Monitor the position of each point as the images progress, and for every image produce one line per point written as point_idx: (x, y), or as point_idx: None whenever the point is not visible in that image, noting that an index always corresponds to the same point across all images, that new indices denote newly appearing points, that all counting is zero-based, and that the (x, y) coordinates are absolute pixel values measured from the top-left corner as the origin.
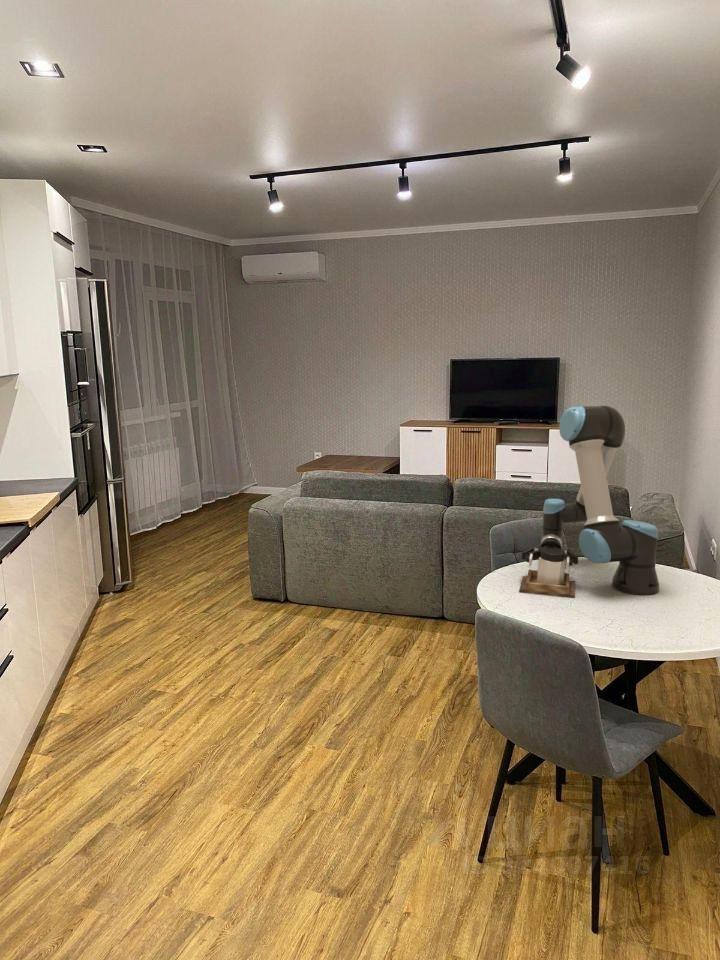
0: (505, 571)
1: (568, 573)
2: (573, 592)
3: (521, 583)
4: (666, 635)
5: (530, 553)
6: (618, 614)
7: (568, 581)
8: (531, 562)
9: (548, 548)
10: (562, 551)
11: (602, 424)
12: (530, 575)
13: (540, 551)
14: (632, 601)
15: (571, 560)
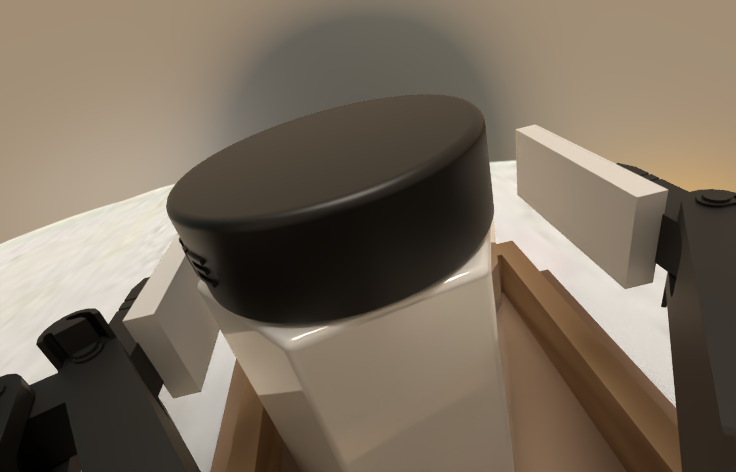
0: None
1: None
2: (240, 374)
3: (617, 352)
4: (50, 251)
5: (694, 208)
6: (108, 296)
7: (248, 390)
8: (531, 179)
9: (403, 155)
10: (198, 188)
11: None
12: (591, 370)
13: (716, 413)
14: None
15: (130, 307)
